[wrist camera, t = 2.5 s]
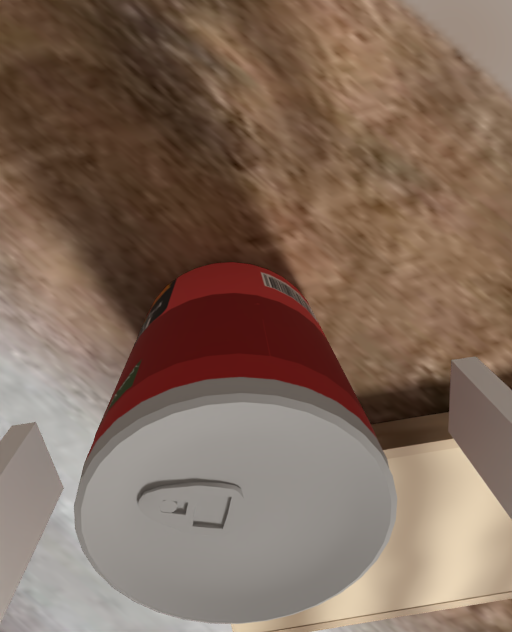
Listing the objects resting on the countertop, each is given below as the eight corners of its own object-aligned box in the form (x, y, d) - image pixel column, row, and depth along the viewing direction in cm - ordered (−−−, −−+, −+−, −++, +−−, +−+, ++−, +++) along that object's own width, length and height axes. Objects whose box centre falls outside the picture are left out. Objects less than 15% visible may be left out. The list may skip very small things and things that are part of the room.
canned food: (134, 261, 19) (34, 407, 9) (316, 250, 19) (417, 378, 9) (157, 408, 22) (102, 642, 12) (314, 396, 22) (389, 613, 12)
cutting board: (234, 610, 28) (235, 643, 26) (196, 452, 23) (193, 480, 21) (537, 560, 28) (559, 590, 27) (564, 393, 23) (594, 415, 21)
